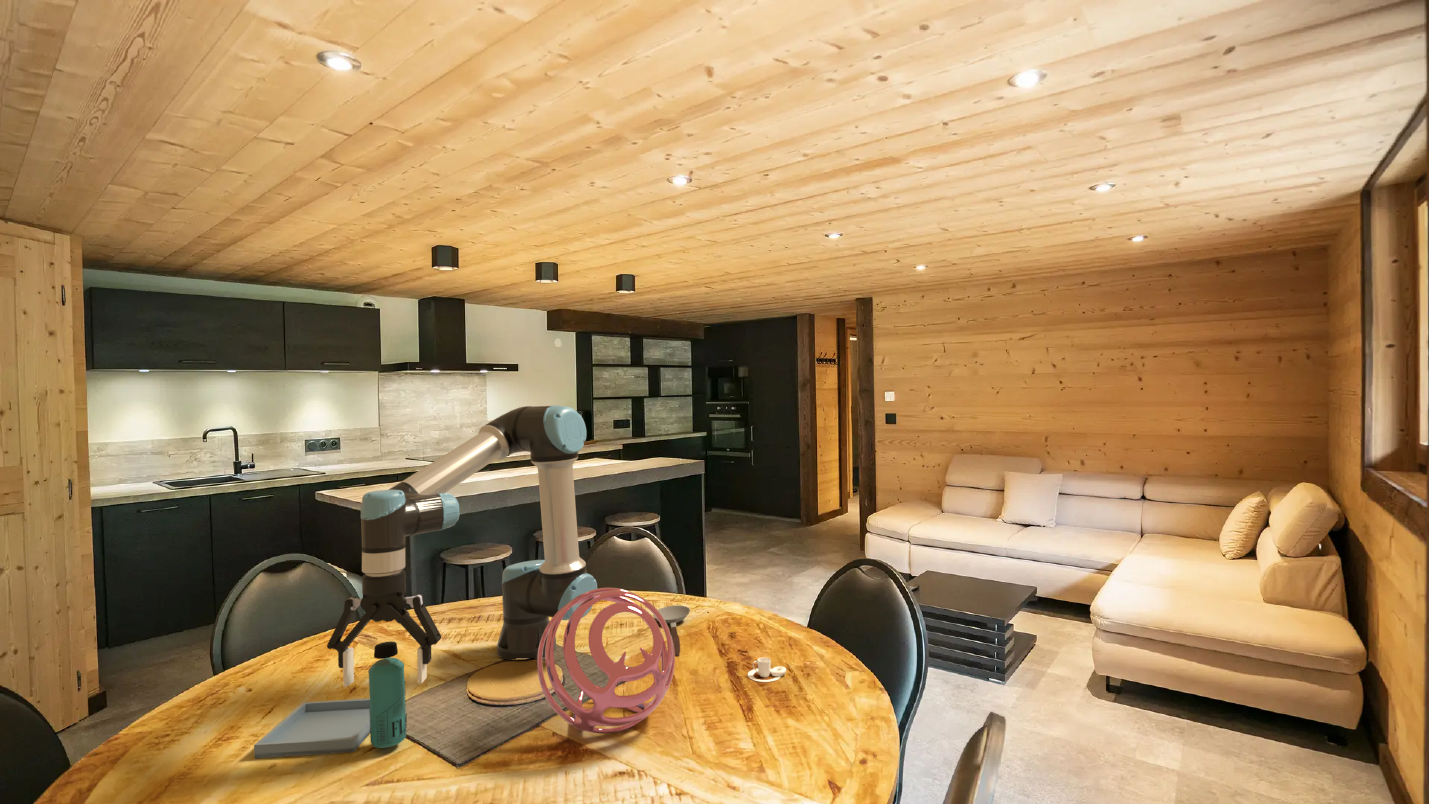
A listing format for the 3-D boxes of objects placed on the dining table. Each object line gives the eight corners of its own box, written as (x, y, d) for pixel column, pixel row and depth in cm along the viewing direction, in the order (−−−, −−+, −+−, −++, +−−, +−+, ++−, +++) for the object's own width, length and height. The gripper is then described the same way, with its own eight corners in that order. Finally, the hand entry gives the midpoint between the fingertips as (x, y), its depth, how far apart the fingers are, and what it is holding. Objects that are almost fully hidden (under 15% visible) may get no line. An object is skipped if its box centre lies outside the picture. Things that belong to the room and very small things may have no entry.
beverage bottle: (392, 757, 127) (390, 651, 126) (361, 754, 128) (358, 649, 128) (414, 740, 133) (412, 638, 133) (385, 737, 134) (382, 637, 134)
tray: (391, 708, 147) (390, 697, 147) (354, 752, 129) (353, 739, 129) (304, 713, 145) (303, 702, 145) (254, 758, 127) (254, 745, 127)
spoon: (689, 612, 206) (688, 603, 206) (699, 659, 174) (698, 647, 173) (653, 618, 205) (652, 608, 205) (657, 665, 172) (655, 654, 172)
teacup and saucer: (789, 673, 162) (788, 656, 162) (778, 686, 155) (777, 669, 155) (755, 668, 166) (754, 651, 165) (742, 680, 158) (742, 663, 158)
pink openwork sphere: (529, 608, 152) (563, 559, 133) (645, 619, 163) (693, 576, 144) (515, 745, 135) (552, 712, 116) (646, 748, 146) (699, 718, 127)
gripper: (456, 564, 135) (458, 671, 135) (325, 569, 133) (327, 677, 133) (444, 574, 127) (446, 687, 127) (306, 579, 125) (307, 693, 125)
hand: (385, 682), depth 130 cm, fingers open, 13 cm apart
